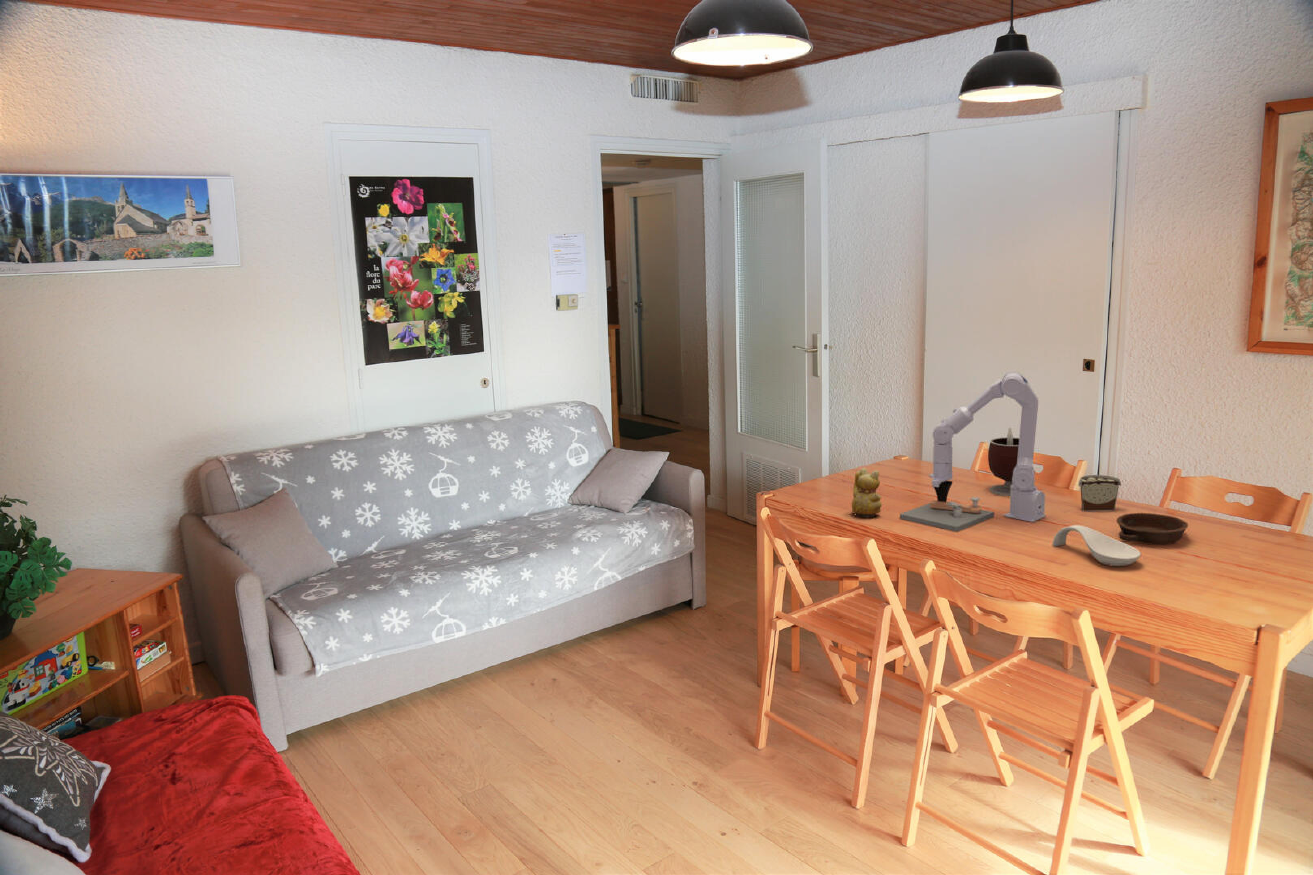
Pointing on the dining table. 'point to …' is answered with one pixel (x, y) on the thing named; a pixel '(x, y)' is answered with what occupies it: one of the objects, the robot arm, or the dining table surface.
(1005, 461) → the mate gourd
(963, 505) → the link
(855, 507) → the decorative figurine
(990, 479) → the dining table surface
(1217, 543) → the dining table surface
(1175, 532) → the dish
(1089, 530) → the spoon rest
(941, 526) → the board
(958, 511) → the keeper
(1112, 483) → the food container
